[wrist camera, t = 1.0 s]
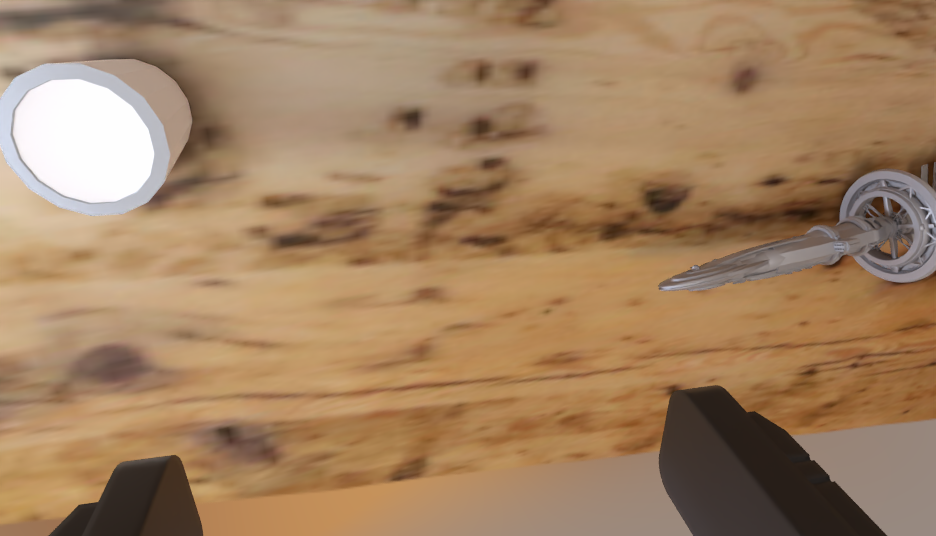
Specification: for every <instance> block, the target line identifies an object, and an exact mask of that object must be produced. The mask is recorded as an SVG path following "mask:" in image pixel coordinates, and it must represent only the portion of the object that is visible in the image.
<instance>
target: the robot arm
mask: <svg viewBox="0 0 936 536" xmlns="http://www.w3.org/2000/svg"><path fill="white" fill-rule="evenodd" d="M659 469H660V474H661V478H662V482H663V485H664V487H665V489H666V492H667V493H668V495H669V497H670V498H671V500H672V502H673V503H674V505H675V506H676V508H677V510H678V512H679V513H680V515H681V516H682V518H683V520H684V521H685V523H686V524H687V526H688V528H689V529H690V531H691V533H692V534H693V536H887V535H886V534H885V533H884V532H883V531H882V530H881V529H880V528H879V527H878V526H877V525H876V524H875V523H874V522H873V521H872V520H871V519H870V518H869V516H868V515H867V514H865V512H864V511H863V510H862V509H861V508H860V507H859V506H858V505H857V504H856V503H855V502H854V501H853V500H852V499H851V498H850V497H849V496H848V495H847V494H846V493H845V492H844V491H843V490H842V489H841V488H840V486H838V485H837V483H835V482H831V481H830V478H829V475H828V474H827V473H826V472H825V471H824V470H823V469H822V468H821V467H820V466H819V465H818V464H817V463H816V462H815V461H814V460H813V461H811V460H810V457H809V454H808V453H807V452H806V451H805V450H804V449H803V448H802V447H801V446H800V445H799V444H798V443H797V442H796V441H795V440H794V439H793V438H792V437H791V436H790V435H789V434H788V433H787V432H786V431H785V430H784V429H782V428H781V427H779V426H777V425H776V424H774V423H772V422H771V421H769V420H768V419H766V418H764V417H763V416H761V415H760V414H758V413H756V412H755V411H754V412H746V411H745V410H744V409H743V408H742V407H741V406H740V405H739V403H738V402H737V401H736V400H735V399H734V398H733V397H732V396H731V395H730V394H729V393H728V392H727V391H726V390H725V389H724V388H723V387H721V386H717V385H715V386H707V387H699V388H692V389H684V390H677V391H675V392H673V394H672V395H671V397H670V400H669V405H668V411H667V416H666V421H665V427H664V432H663V438H662V443H661V448H660V454H659ZM49 536H203V530H202V525H201V521H200V517H199V514H198V511H197V508H196V505H195V502H194V498H193V495H192V492H191V489H190V486H189V483H188V479H187V476H186V473H185V470H184V467H183V464H182V461H181V460H180V458H179V457H178V456H176V455H171V456H164V457H156V458H148V459H141V460H133V461H126V462H122V463H120V464H119V465H117V467H116V468H115V469H114V471H113V473H112V475H111V477H110V479H109V481H108V483H107V485H106V487H105V489H104V492H103V494H102V496H101V498H100V500H99V502H96V503H89V504H82V505H78V506H77V507H76V508H75V510H74V511H73V512H72V513H71V514H70V515H69V516H68V517H67V518H66V519H65V520H64V521H63V522H62V523H61V524H60V525H59V526H58V527H57V528H56V529H55V530H54V531H53V532H52V533H51V534H50V535H49Z"/></svg>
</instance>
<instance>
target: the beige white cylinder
mask: <svg viewBox="0 0 936 536" xmlns="http://www.w3.org/2000/svg"><path fill="white" fill-rule="evenodd" d="M191 125H192V116H191V111H190V106H189V102H188V99H187V98H186V96H185V95H184V93H183V92H182V90H181V89H180V87H179V86H178V84H177V82H176V81H175V80H173V79H172V78H171V77H169V76H168V75H167V74H166V73H164V72H163V71H162V70H160V69H159V68H158V67H156V66H153V65H150V64H148V63H145V62H142V61H139V60H136V59H111V60H96V61H81V62H65V63H50V64H43V65H41V66H38V67H36V68H34V69H32V70H30V71H28V72H26V73H24V74H22V75H19V76H17V77H15V78H14V80H13V81H12V83H11V84H10V85H9V87H8V88H7V90H6V91H5V92H4V94H3V95H2V97H1V98H0V146H1V149H2V152H3V154H4V157H5V160H6V162H7V164H8V165H9V166H10V167H11V168H12V169H13V171H14V172H15V173H16V174H17V175H18V176H19V178H20V179H21V180H22V181H23V182H24V183H25V185H26V186H27V187H28V188H29V189H30V190H32V191H33V192H35V193H37V194H38V195H40V196H42V197H43V198H45V199H46V200H48V201H50V202H51V203H53V204H54V205H56V206H58V207H60V208H64V209H67V210H71V211H75V212H79V213H82V214H86V215H90V216H99V215H116V214H124V213H126V212H128V211H130V210H132V209H134V208H137V207H139V206H141V205H143V204H145V203H147V202H148V201H149V200H150V199H151V198H152V197H153V195H154V194H155V193H156V192H157V190H158V189H159V188H160V187H161V186H162V184H163V183H164V182H165V180H166V178H167V177H168V175H169V173H170V171H171V169H172V168H173V166H174V164H175V162H176V161H177V159H178V157H179V155H180V153H181V152H182V150H183V148H184V146H185V144H186V143H187V141H188V139H189V134H190V130H191Z"/></svg>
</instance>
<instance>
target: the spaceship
mask: <svg viewBox="0 0 936 536" xmlns="http://www.w3.org/2000/svg"><path fill="white" fill-rule="evenodd" d="M875 181H876V182H875ZM865 188H866V189H865ZM864 189H865V190H864ZM863 190H864V191H863ZM861 192H862V193H861ZM860 193H861V194H860ZM876 197H883V202H884V209H885V215H883V214H884V213H883V214H881V213H879V212H878V211H877V210H876V209H875V208H874V207H873V206H872V205H871V203H872V201H873V199H874V198H876ZM856 198H857V200H856ZM889 198H890V199H893V200H895V201H896V202H898V203H899V204H900V205H901V208H900V209H901V210H900V211H899V212H898V213H895V212H893V210H892V205H891V201H890V199H889ZM855 201H856V202H855ZM869 207H870V208H869ZM868 209H871V210H873V211H874V212H875V213H877V214H878V215H879V217H876V218H875V216H873V215H871V214H870V212H869V210H868ZM867 212H868V213H869V214H870V215H871V216H872V217H873V218H866V216H865V215H866V213H867ZM894 213H895V214H894ZM897 236H898V237H897ZM901 236H902V237H901ZM901 238H904V239H906V240H907V241H908V243H909V245H910V244H911V245H912V246H911V245H910V246H908V245H905V244H904V243H903V242H902V239H901ZM888 239H889V242H890V248H891V254H888V253H885V252H882V251H881V250H880V248H881V247H882V245H883V244H884V243H885V242H886V241H887V240H888ZM899 239H901V241H900V240H899ZM897 240H899V241H900V242H901V243H902V244H903V245H904V246H905V247H906V248H908V247H911V248H910V249H909V248H908V249H909V251H908V252H907V253H906V254H905V255H903V256H901V257H898V245H897ZM883 241H884V243H882V244H880V245H881V246H880V245H879V246H880V247H879V248H878V244H879V243H881V242H883ZM874 246H875V247H874ZM907 246H908V247H907ZM845 254H846V255H848V256H853V258H854V259H855V260H856V261H857V262H858V263H859V264H860V265H861V266H862V267H863V268H864V269H866V270H867V271H868V272H870V273H871V274H873V275H875V276H877V277H879V278H882V279H885V280H889V281H893V282H913V281H917V280H920V279H923V278H925V277H927V276H928V275H930V274H931V273H933V272H934V271H935V270H936V162H934V172H933V187H931V186H930V185H929V184H928V164H926V165H922V167H921V178H919V177H917V176H915V175H913V174H911V173H908V172H905V171H901V170H896V169H880V170H875V171H872V172H869V173H867V174H865V175H863V176H862V177H860V178H859V179H858V180H857V181H856V182H855V183H854V184H853V185H852V186H851V187H850V188H849V190H848V191H847V193H846V194H845V196H844V198H843V201H842V204H841V208H840V221H839V222H838V223H837V224H836V226H833V227H830V226H827V225H816V226H814V227H812V228H811V229H810V230H809V231H808V232H807V233H806V234H805V235H802V236H798V237H792V238H789V239H784V240H780V241H775V242H771V243H767V244H763V245H760V246H756V247H752V248H749V249H746V250H743V251H740V252H737V253H734V254H731V255H728V256H725V257H723V258H720V259H714V260H712V261H711V262H708V263H705V264H703V265H702V266H700V267H699V266H697V265H695V266H693V267H690V268H692V269H691V270H688V271H686V272H683V273H681V274H678V275H675V276H673V277H671V278H670V279H667V280H665V281H663V282H661V283H660V284H659V285H658V287H659V290H661V291H678V290H689V291H696V290H697V291H701V290H707V289H712V288H716V287H719V286H723V285H725V284H726V283H731V282H733V284H736V283H743V282H745V281H746V280H747V281H753V280H759V279H765V278H771V277H775V276H779V275H782V274H786V275H787V274H792V272H794V271H795V272H797V271H801V269H804V268H805V269H808V268H812V267H811V266H815V265H817V264H821V265H831V264H833V263H835V262H836V261H838V260H839V259H840V258H841V257H842V255H845ZM888 256H889V257H888ZM876 263H878V264H879V265H878V264H876ZM880 265H881V266H882V267H881V266H880ZM887 268H889V269H887ZM906 271H907V272H906ZM736 281H737V282H736Z"/></svg>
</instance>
